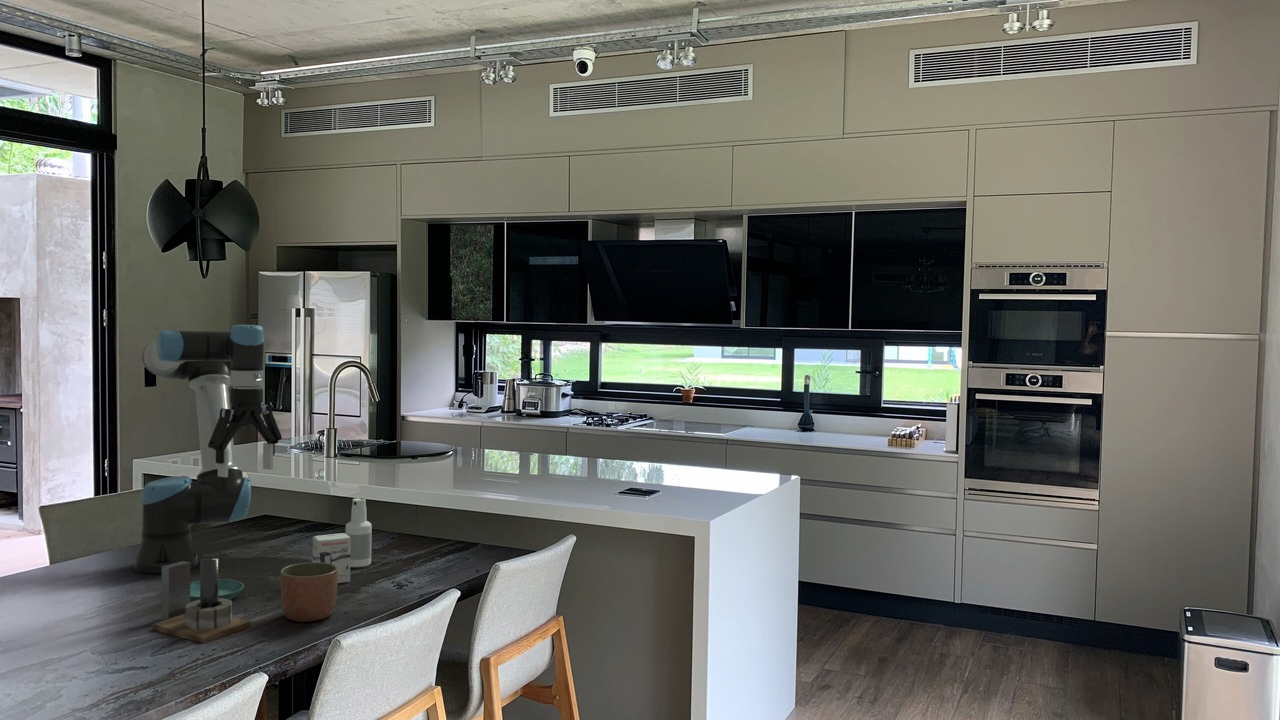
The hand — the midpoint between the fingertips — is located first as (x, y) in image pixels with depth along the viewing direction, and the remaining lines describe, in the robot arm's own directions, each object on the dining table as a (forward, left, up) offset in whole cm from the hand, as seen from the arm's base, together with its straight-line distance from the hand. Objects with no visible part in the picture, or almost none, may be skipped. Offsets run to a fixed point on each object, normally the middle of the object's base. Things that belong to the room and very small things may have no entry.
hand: (245, 472), depth 238 cm
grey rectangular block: (+6, -24, -29) cm, 38 cm away
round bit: (+18, -25, -28) cm, 41 cm away
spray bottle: (+8, +31, -29) cm, 43 cm away
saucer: (0, -10, -29) cm, 31 cm away
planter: (+30, -8, -29) cm, 42 cm away
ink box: (+14, +15, -29) cm, 35 cm away
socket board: (+17, -26, -29) cm, 42 cm away
